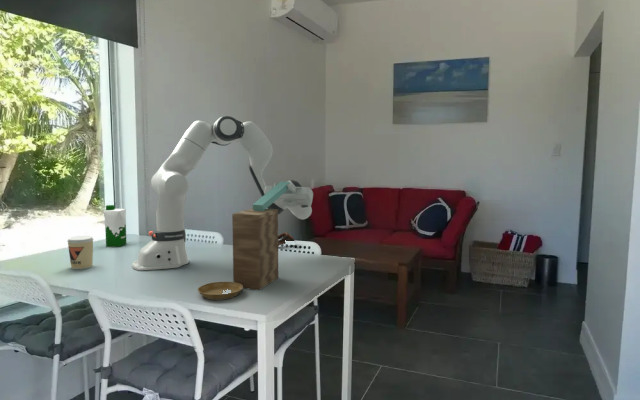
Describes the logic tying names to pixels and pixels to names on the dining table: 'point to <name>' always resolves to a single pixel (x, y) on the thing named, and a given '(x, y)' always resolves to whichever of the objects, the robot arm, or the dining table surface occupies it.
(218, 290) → the plant saucer
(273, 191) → the board
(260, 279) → the shelf block
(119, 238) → the milk carton
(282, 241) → the pottery mug
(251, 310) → the dining table surface
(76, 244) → the coffee cup
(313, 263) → the dining table surface
